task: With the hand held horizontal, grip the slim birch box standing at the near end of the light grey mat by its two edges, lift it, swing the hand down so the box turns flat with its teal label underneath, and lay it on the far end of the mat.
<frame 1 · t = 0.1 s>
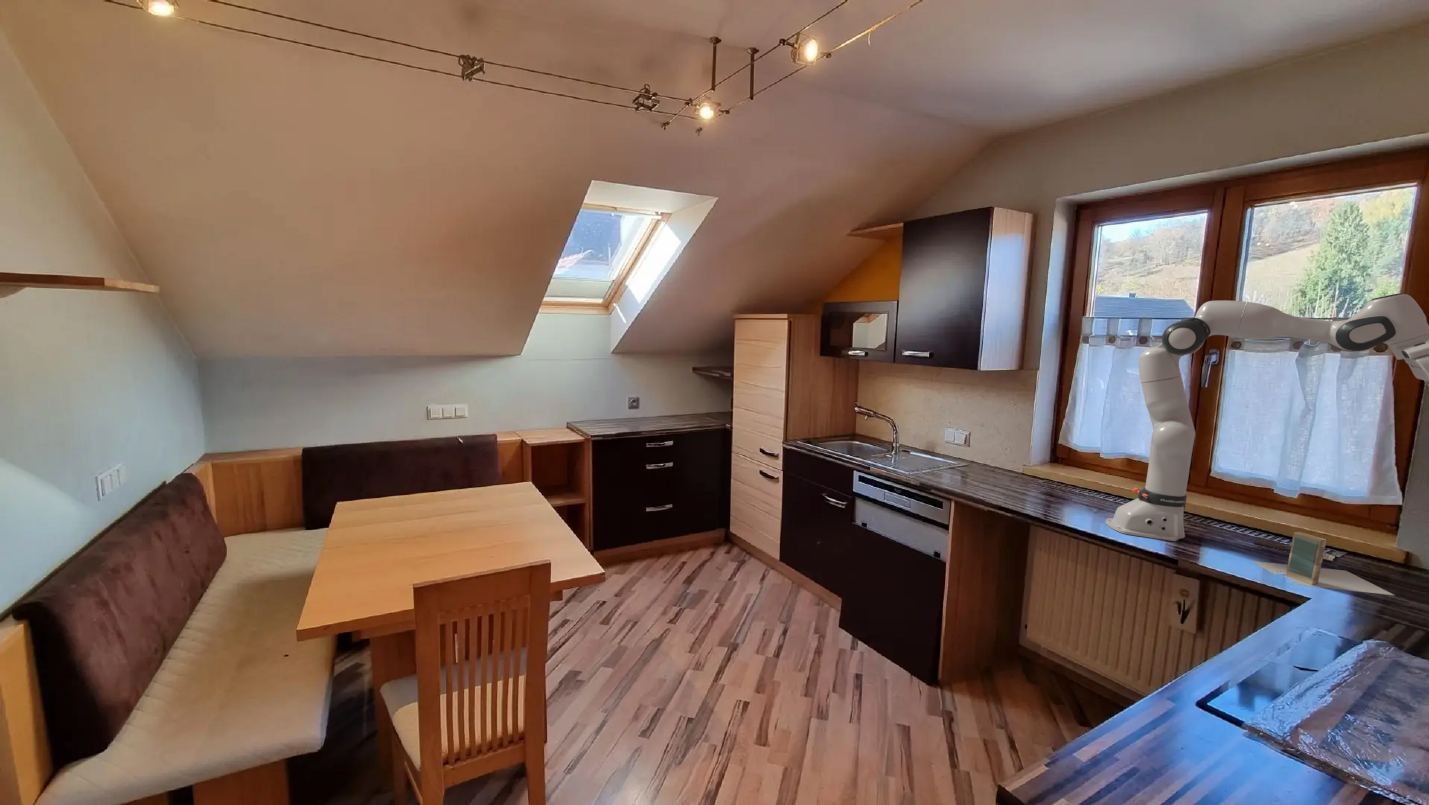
birch box: (1301, 580, 168), resting on mat
chocolate bar: (1293, 552, 193), on the counter
mat: (1319, 578, 171), on the counter
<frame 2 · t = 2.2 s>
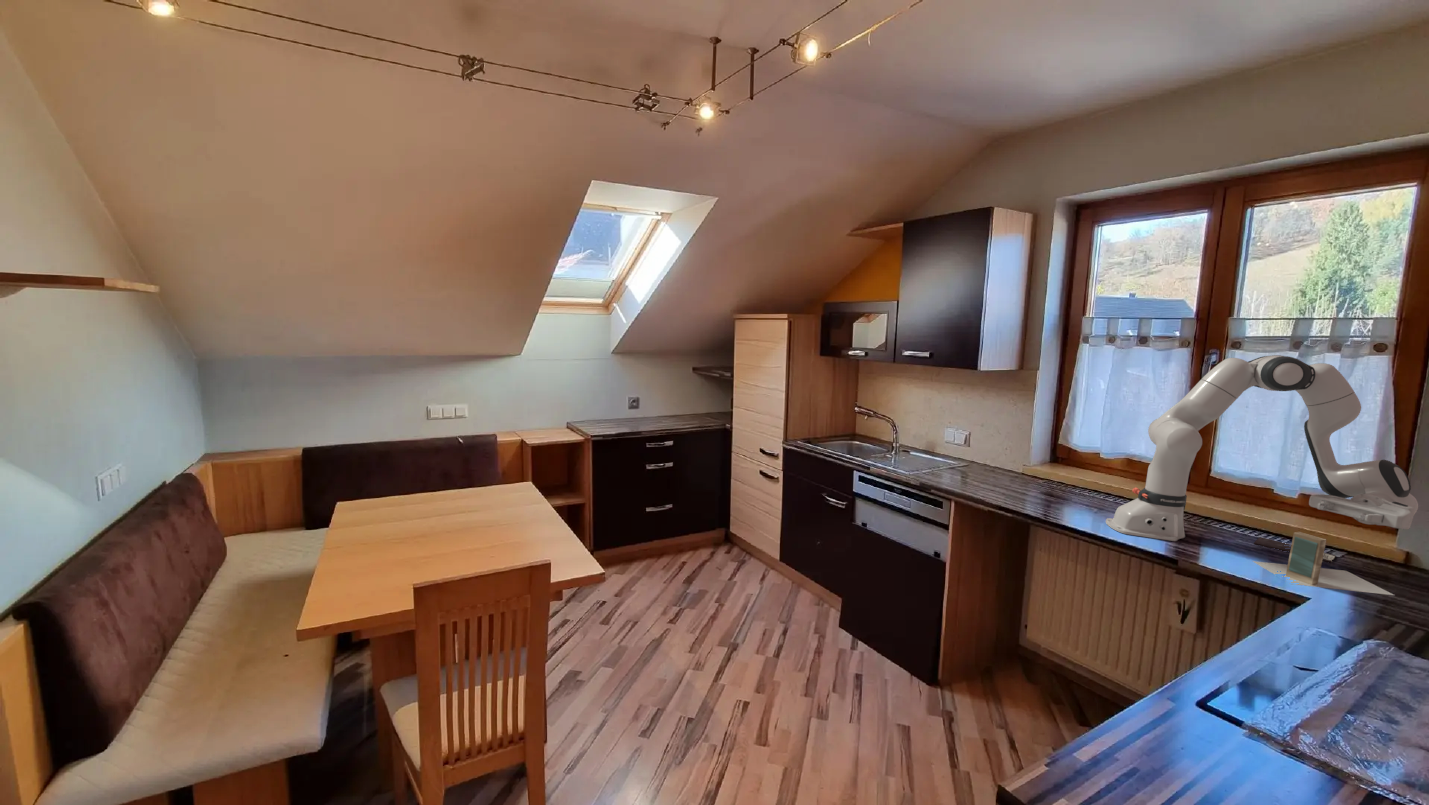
hand: (1341, 512, 169), 19 cm above the counter, tool horizontal, fingers open, 8 cm apart
nothing on the counter moved.
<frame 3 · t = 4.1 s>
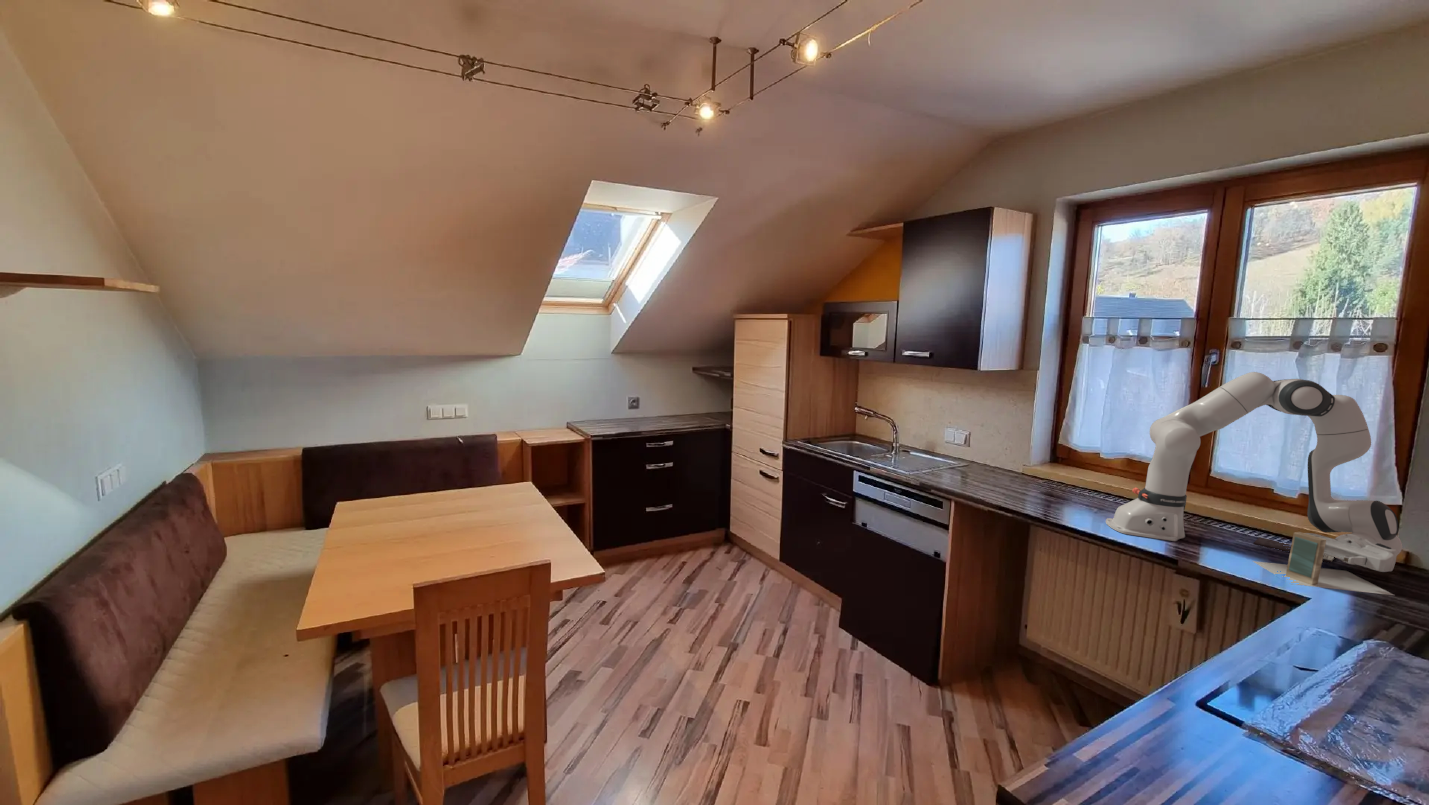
hand: (1325, 553, 170), 7 cm above the counter, tool horizontal, fingers open, 8 cm apart
nothing on the counter moved.
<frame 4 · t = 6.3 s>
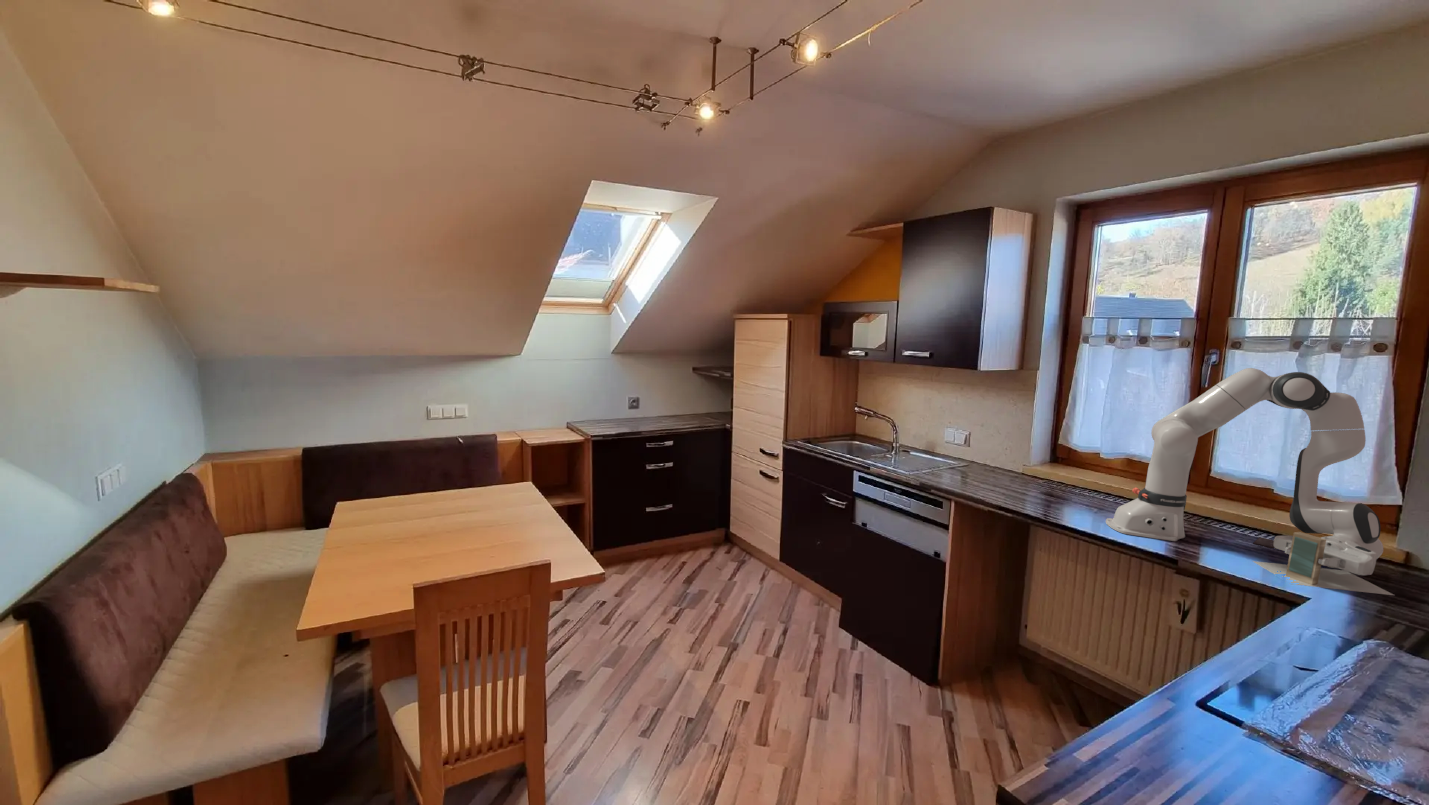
hand: (1303, 556, 167), 8 cm above the counter, tool horizontal, fingers closed on birch box, 6 cm apart
birch box: (1301, 580, 168), resting on mat, touching gripper
everything else where it was.
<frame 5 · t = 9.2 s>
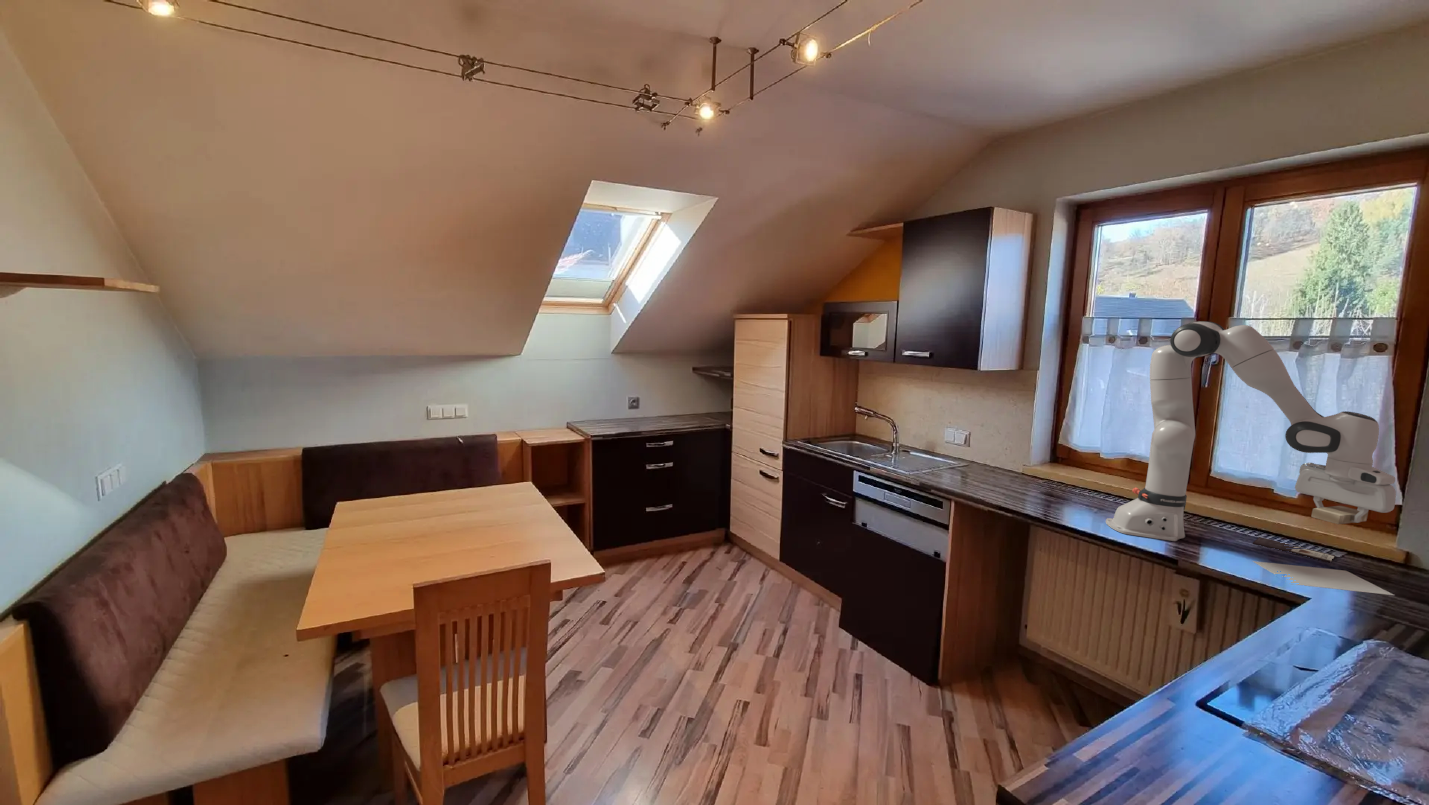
hand: (1337, 517, 170), 18 cm above the counter, tool pointing down, fingers closed on birch box, 6 cm apart
birch box: (1353, 513, 172), point 19 cm above the counter, tilted 90°, touching gripper
everything else where it was.
when the fingers open (2 cm above the counter, at t = 12.8 s): birch box stays where it is, resting on mat.
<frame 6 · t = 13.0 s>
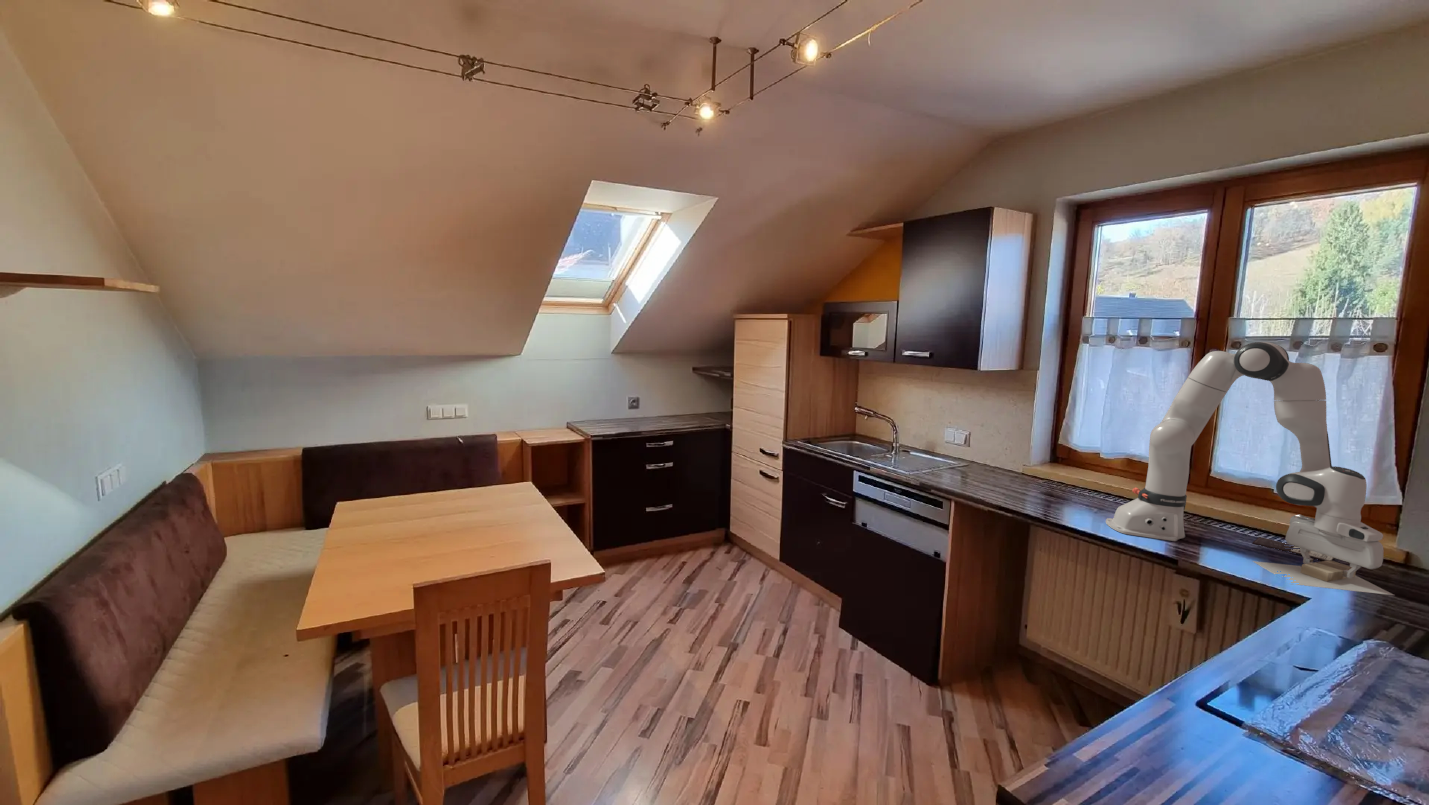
hand: (1326, 570, 172), 2 cm above the counter, tool pointing down, fingers open, 8 cm apart
birch box: (1342, 568, 174), point 2 cm above the counter, tilted 90°, touching mat
everything else where it was.
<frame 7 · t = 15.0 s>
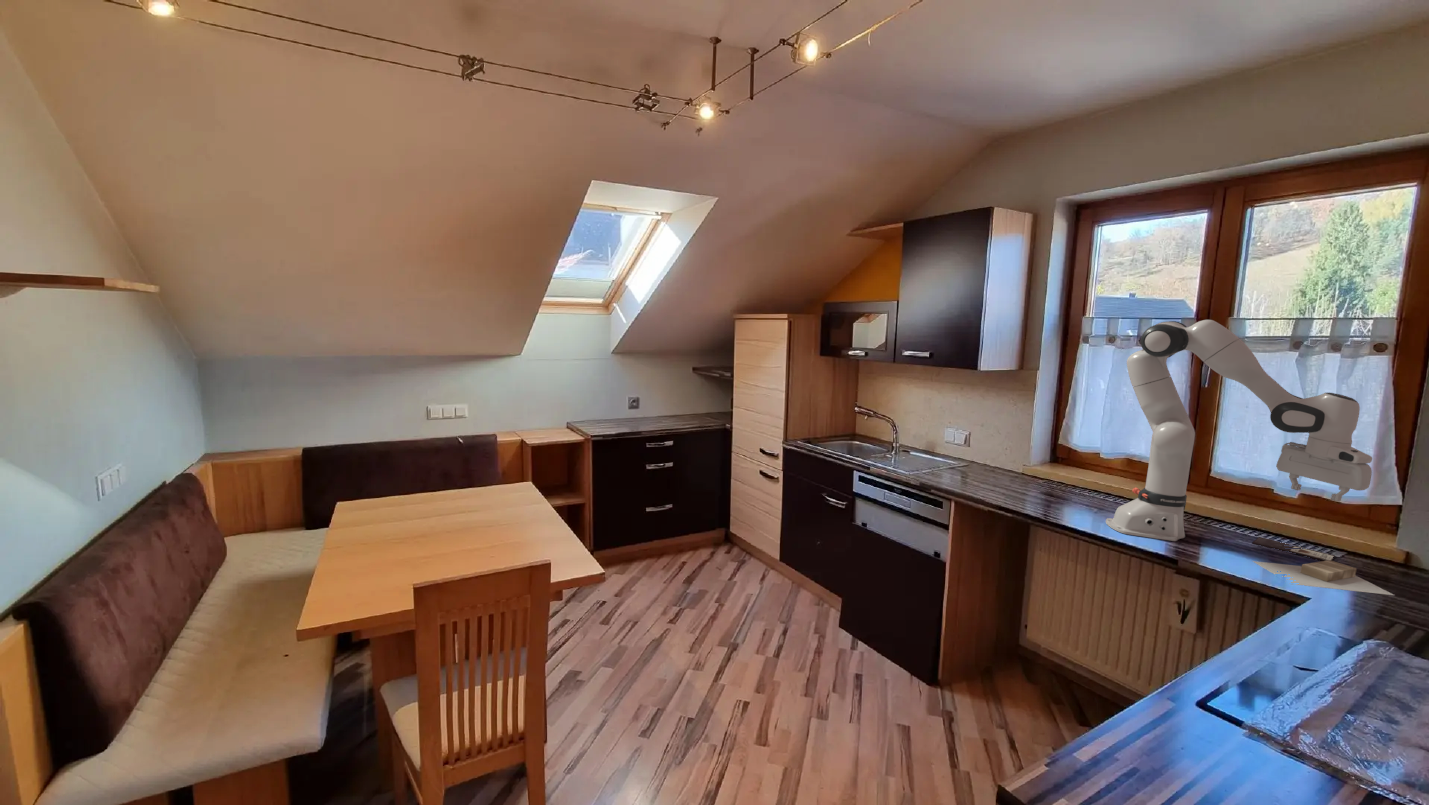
hand: (1314, 495, 175), 22 cm above the counter, tool pointing down, fingers open, 8 cm apart
nothing on the counter moved.
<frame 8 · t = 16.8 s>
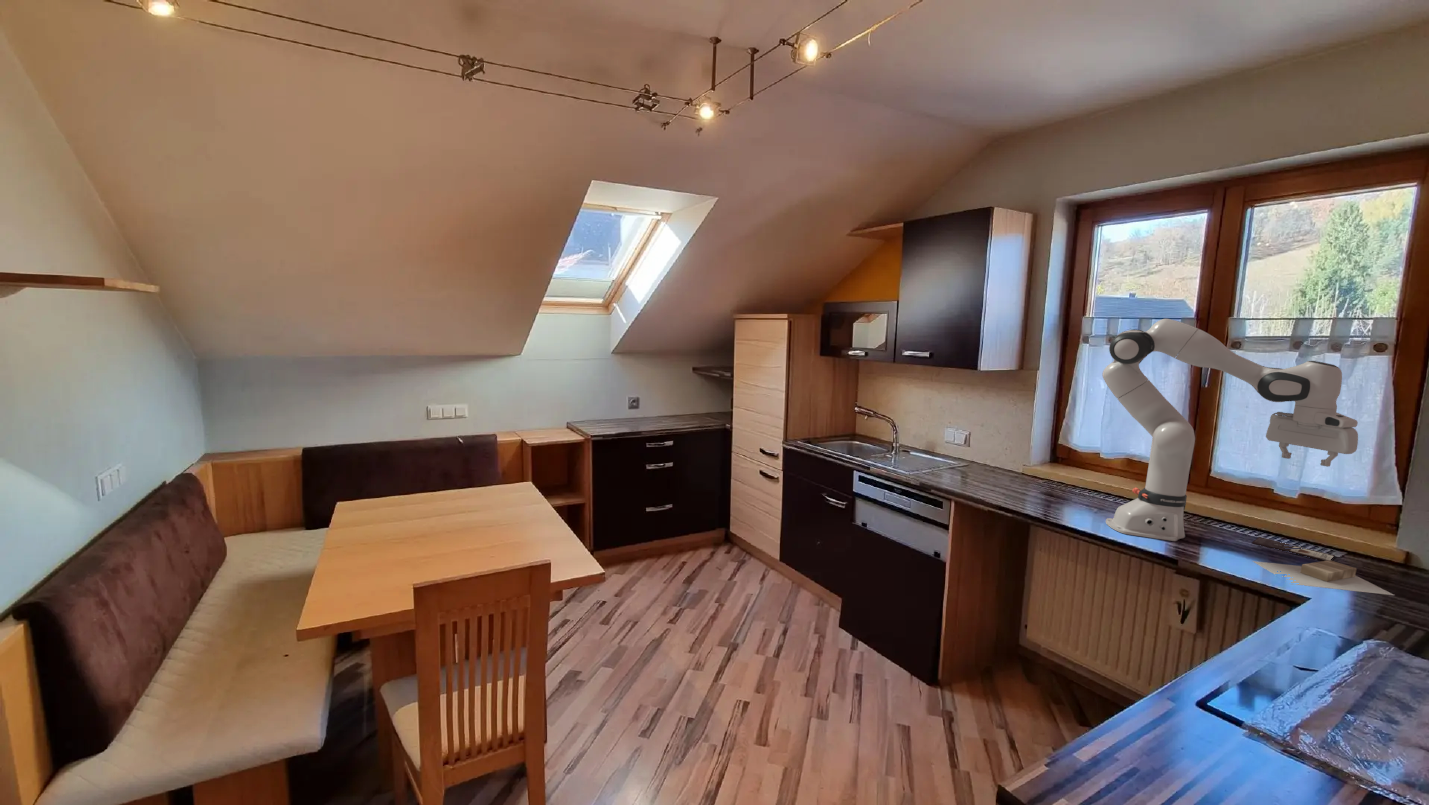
hand: (1305, 462, 179), 31 cm above the counter, tool pointing down, fingers open, 8 cm apart
nothing on the counter moved.
at the end: birch box tilted 90°; birch box inside the target area (10.9 cm from its centre), point 1.8 cm above the counter; birch box moved 19.0 cm from its start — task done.
